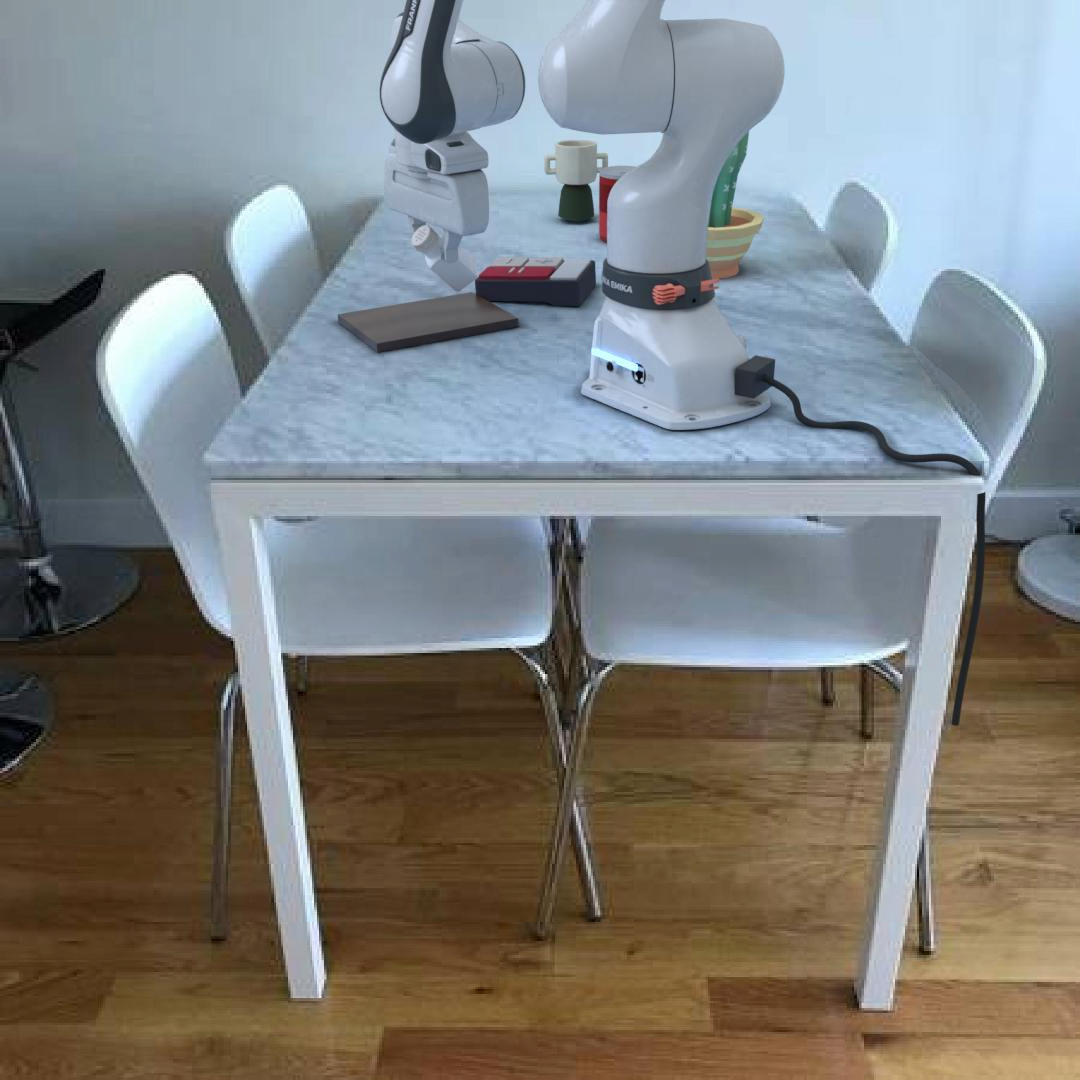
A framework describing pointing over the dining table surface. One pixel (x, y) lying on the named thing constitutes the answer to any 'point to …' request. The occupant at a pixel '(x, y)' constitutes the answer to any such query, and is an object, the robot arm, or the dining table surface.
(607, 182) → the canned food
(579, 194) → the trophy
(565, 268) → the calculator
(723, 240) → the potted cactus
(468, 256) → the pepper shaker
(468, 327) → the board
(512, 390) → the dining table surface
